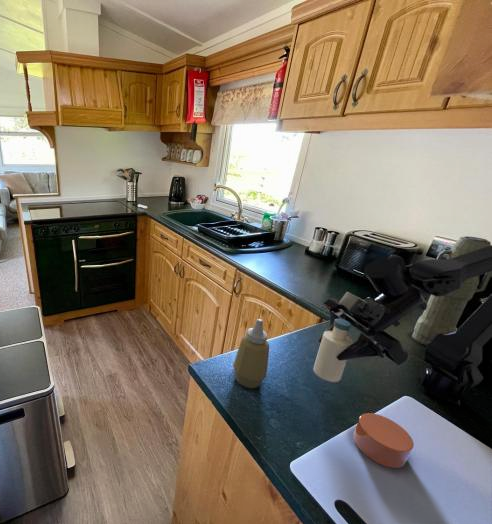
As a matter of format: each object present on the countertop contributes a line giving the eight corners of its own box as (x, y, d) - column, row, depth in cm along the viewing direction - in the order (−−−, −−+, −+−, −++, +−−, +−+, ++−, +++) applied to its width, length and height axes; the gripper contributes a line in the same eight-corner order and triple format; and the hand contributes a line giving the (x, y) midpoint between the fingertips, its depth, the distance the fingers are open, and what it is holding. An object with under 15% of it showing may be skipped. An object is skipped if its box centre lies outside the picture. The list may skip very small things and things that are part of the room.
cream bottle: (334, 367, 70) (350, 317, 65) (345, 383, 65) (363, 330, 60) (309, 364, 71) (323, 314, 66) (318, 380, 66) (334, 327, 61)
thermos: (458, 355, 88) (513, 245, 76) (408, 341, 94) (451, 237, 82) (450, 341, 95) (500, 239, 83) (404, 329, 101) (444, 232, 89)
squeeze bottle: (238, 365, 80) (249, 307, 74) (268, 379, 75) (282, 319, 69) (226, 381, 74) (236, 320, 68) (257, 397, 69) (272, 333, 63)
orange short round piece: (405, 446, 59) (413, 429, 57) (405, 477, 52) (414, 460, 51) (355, 421, 64) (361, 406, 62) (350, 448, 58) (357, 431, 56)
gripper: (340, 267, 69) (287, 308, 72) (415, 304, 52) (341, 356, 54) (361, 296, 72) (309, 334, 75) (438, 341, 55) (367, 388, 58)
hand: (328, 350), depth 66 cm, fingers closed on cream bottle, 5 cm apart
